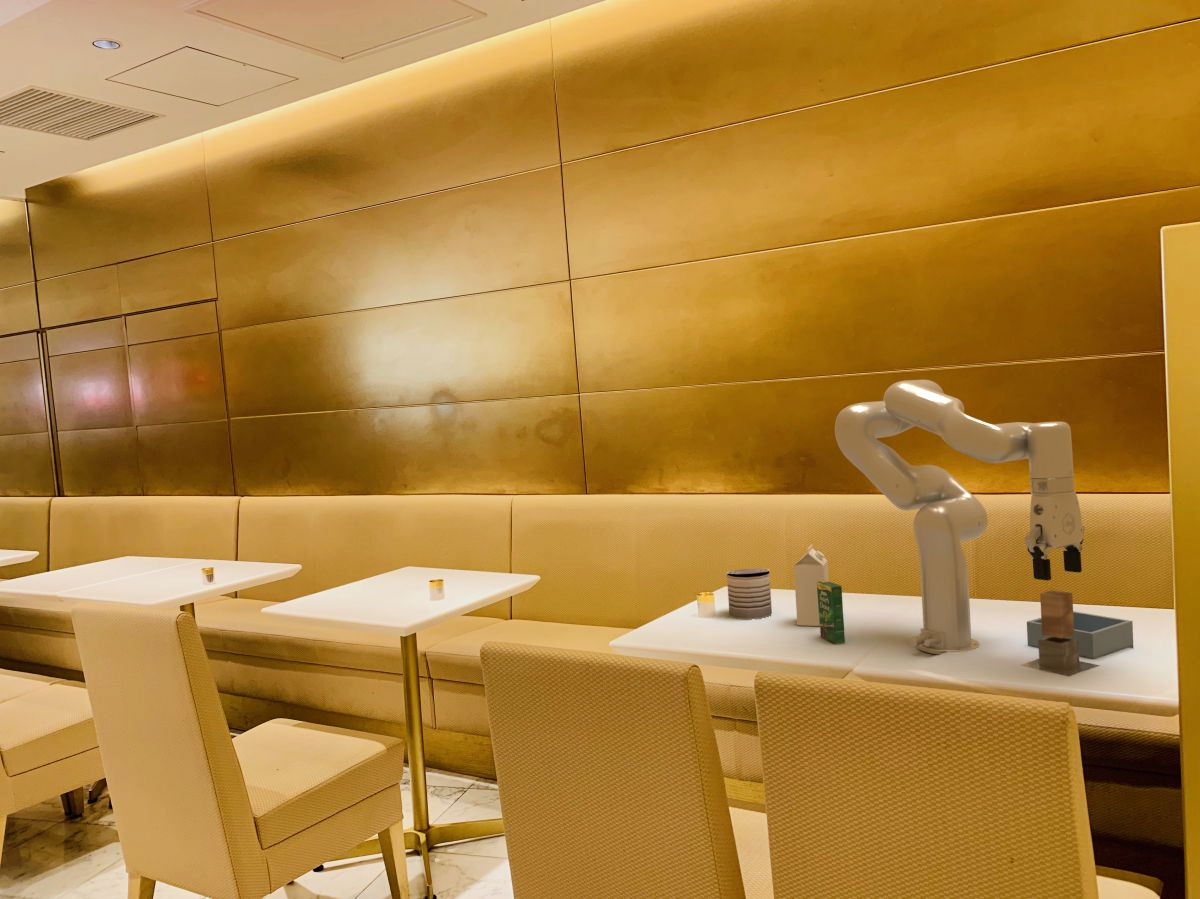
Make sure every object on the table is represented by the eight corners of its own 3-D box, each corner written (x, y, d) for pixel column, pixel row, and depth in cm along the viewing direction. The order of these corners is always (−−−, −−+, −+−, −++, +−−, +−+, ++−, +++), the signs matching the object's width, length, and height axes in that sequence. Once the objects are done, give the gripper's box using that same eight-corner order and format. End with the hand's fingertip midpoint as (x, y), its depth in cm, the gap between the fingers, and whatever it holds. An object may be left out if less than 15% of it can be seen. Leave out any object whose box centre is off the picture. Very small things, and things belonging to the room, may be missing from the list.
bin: (1093, 664, 176) (1092, 633, 176) (1027, 650, 188) (1026, 621, 188) (1133, 650, 183) (1132, 621, 183) (1067, 637, 195) (1066, 610, 195)
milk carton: (797, 626, 221) (792, 549, 220) (802, 619, 227) (797, 544, 226) (826, 627, 218) (822, 549, 217) (830, 619, 224) (826, 544, 224)
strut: (1064, 670, 170) (1060, 597, 170) (1039, 665, 175) (1036, 593, 174) (1079, 665, 173) (1076, 593, 172) (1054, 659, 177) (1051, 589, 177)
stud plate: (1069, 681, 167) (1067, 655, 167) (1019, 670, 176) (1018, 645, 175) (1100, 670, 172) (1099, 645, 172) (1050, 659, 181) (1049, 635, 181)
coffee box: (818, 636, 210) (815, 580, 209) (830, 634, 211) (827, 579, 210) (833, 644, 202) (830, 586, 202) (845, 643, 203) (842, 585, 202)
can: (726, 620, 231) (723, 574, 231) (730, 609, 242) (728, 565, 242) (771, 619, 229) (769, 573, 228) (773, 609, 240) (771, 564, 239)
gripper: (1043, 491, 165) (1049, 585, 165) (1097, 482, 173) (1103, 570, 174) (1006, 490, 171) (1012, 580, 172) (1060, 481, 180) (1066, 567, 180)
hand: (1058, 575), depth 173 cm, fingers open, 9 cm apart
